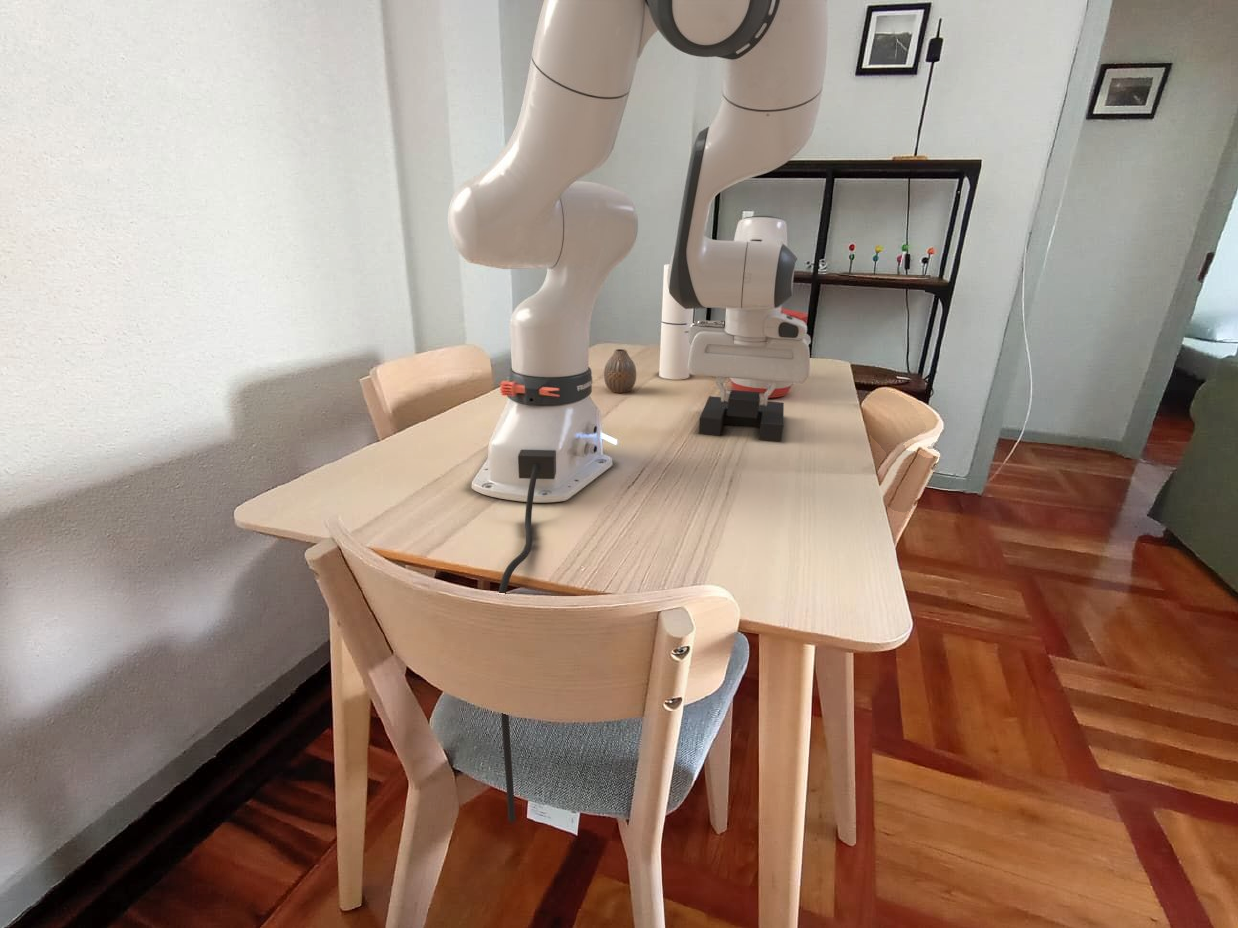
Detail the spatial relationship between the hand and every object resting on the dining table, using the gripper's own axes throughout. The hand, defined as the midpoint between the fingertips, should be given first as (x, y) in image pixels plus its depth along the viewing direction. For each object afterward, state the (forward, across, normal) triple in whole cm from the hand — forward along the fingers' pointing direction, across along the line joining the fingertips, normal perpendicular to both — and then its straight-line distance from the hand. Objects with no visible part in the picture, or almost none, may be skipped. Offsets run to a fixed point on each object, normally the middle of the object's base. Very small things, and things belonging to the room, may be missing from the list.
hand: (744, 403), depth 105 cm
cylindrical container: (+5, -18, +37) cm, 41 cm away
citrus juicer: (+5, +3, +28) cm, 28 cm away
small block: (+2, 0, 0) cm, 2 cm away
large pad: (+5, 0, +4) cm, 6 cm away
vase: (+5, -27, +20) cm, 34 cm away
